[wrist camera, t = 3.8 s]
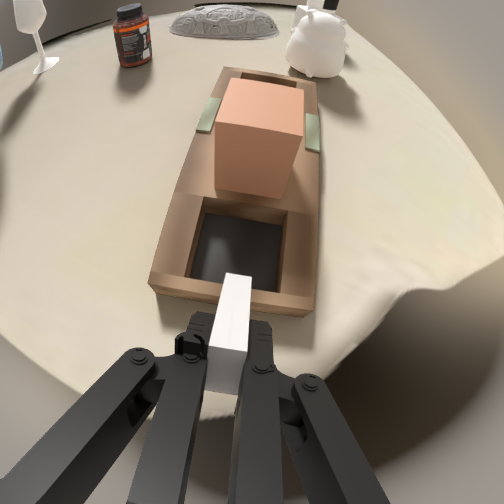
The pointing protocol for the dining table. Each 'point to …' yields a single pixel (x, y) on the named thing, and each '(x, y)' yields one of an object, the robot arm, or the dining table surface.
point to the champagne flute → (33, 27)
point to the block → (257, 137)
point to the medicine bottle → (325, 3)
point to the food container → (225, 23)
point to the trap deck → (243, 220)
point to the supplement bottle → (132, 36)
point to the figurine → (317, 45)
